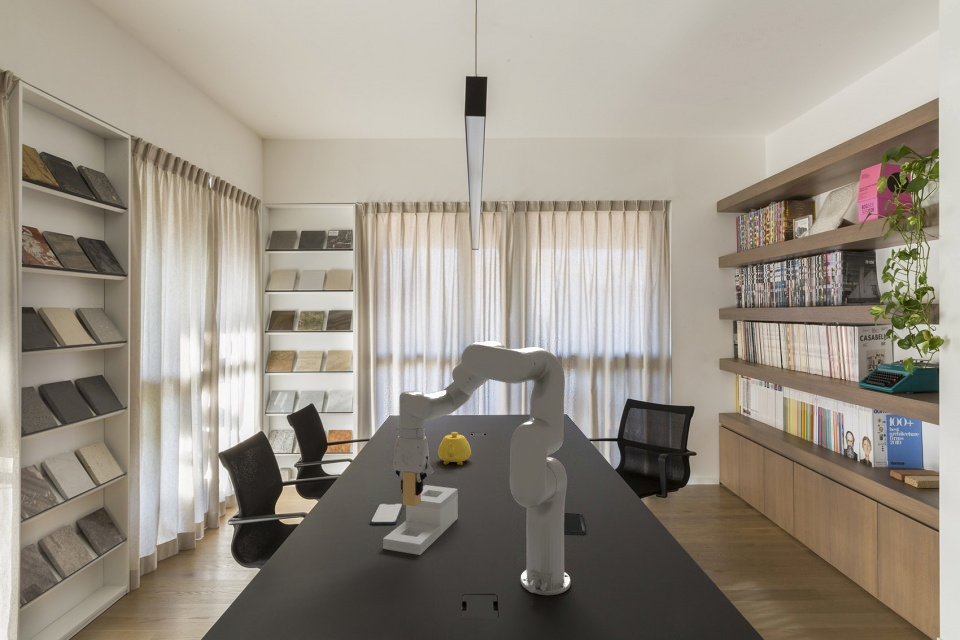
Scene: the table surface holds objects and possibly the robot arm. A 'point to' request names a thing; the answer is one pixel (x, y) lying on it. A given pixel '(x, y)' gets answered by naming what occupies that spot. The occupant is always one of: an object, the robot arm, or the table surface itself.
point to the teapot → (454, 449)
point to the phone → (574, 524)
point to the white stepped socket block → (424, 521)
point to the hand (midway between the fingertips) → (411, 492)
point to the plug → (410, 489)
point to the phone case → (386, 514)
